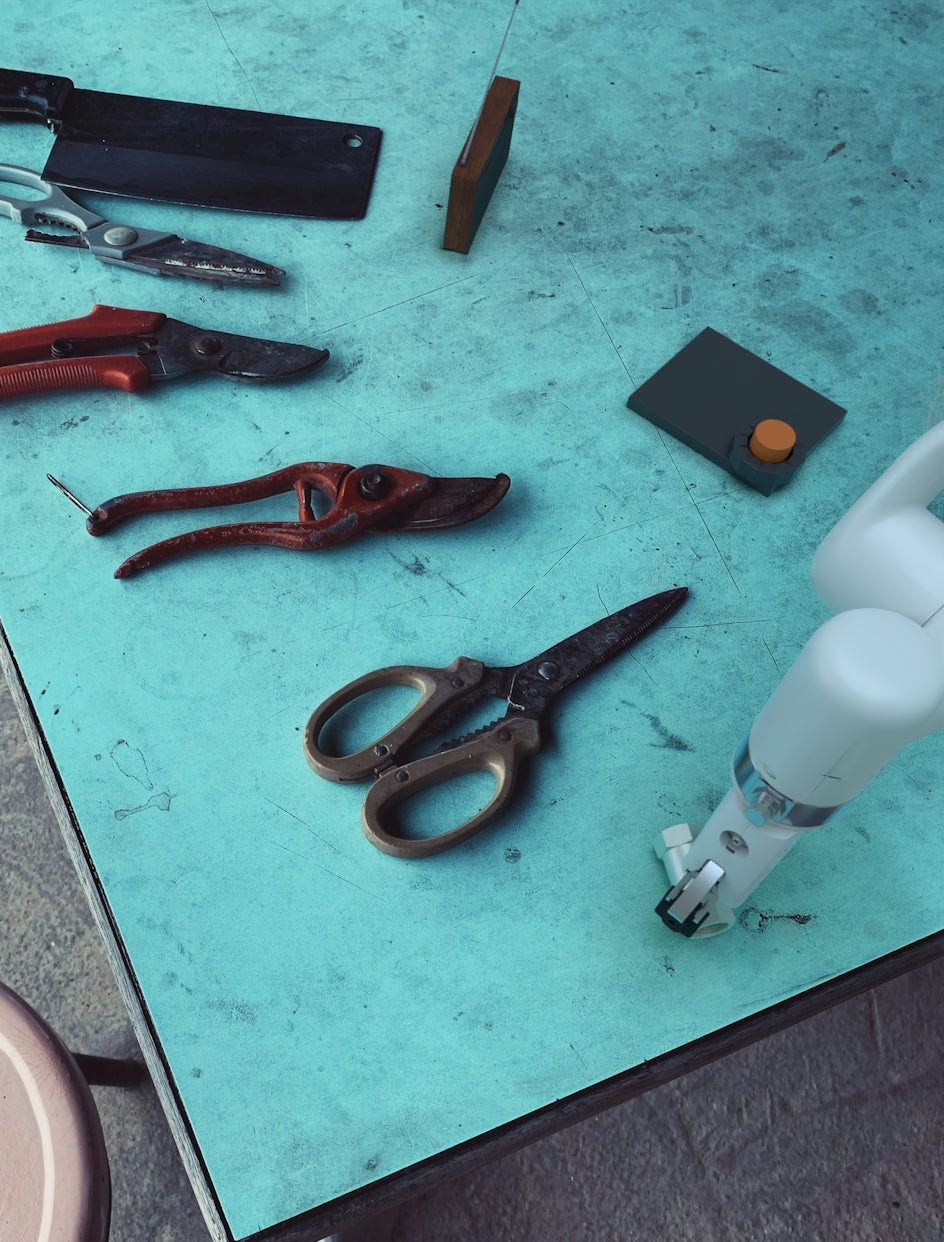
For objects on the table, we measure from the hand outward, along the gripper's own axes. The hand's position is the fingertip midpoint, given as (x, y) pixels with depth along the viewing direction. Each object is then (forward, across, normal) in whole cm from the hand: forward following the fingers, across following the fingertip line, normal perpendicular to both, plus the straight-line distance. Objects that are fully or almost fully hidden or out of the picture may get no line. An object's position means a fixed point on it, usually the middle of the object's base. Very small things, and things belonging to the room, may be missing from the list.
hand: (710, 878), depth 89 cm
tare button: (-1, +39, +20) cm, 44 cm away
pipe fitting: (+3, +1, 0) cm, 3 cm away
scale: (+2, +43, +26) cm, 50 cm away
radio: (+2, +50, +63) cm, 80 cm away
